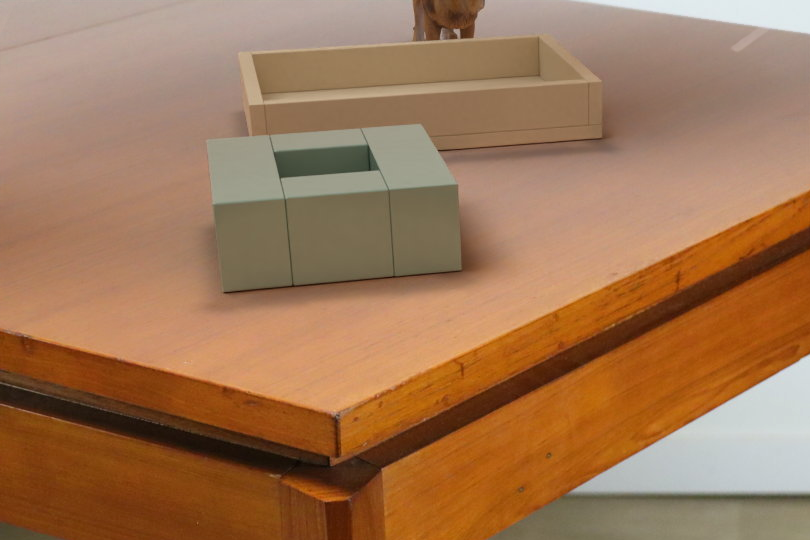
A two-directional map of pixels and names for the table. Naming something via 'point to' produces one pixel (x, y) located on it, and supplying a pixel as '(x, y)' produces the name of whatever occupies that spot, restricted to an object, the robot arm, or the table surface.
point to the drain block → (332, 207)
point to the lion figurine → (445, 18)
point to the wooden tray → (427, 90)
